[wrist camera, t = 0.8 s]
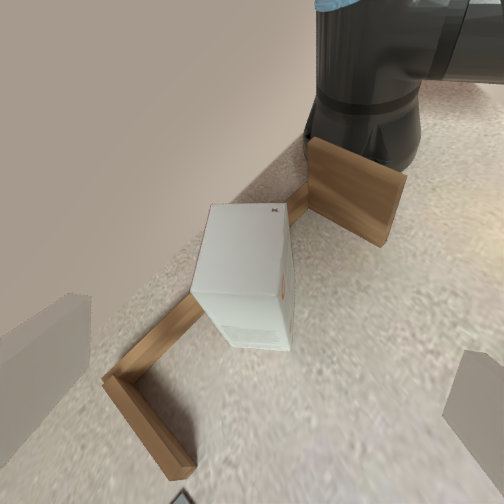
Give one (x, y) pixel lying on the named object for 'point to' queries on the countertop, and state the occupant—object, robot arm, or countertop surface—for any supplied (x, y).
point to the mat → (182, 500)
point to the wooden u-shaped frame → (307, 196)
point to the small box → (248, 274)
